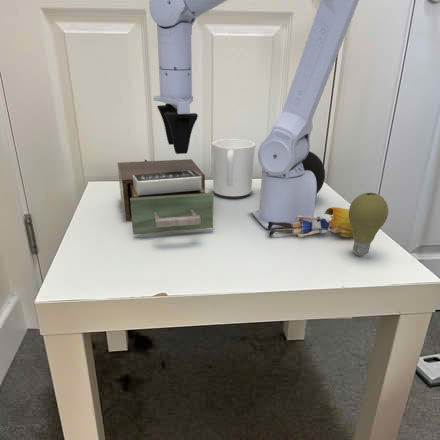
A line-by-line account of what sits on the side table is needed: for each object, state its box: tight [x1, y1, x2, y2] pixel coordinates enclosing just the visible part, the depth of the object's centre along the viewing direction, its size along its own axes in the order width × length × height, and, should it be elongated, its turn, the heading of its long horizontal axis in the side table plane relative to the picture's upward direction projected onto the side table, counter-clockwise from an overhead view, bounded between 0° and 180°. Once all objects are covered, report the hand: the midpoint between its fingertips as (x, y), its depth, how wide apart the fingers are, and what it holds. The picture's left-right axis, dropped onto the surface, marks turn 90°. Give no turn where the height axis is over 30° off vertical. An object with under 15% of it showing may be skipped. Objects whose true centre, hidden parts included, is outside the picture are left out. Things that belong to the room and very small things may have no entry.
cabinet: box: [117, 158, 206, 222], centre depth 86 cm, size 12×15×8 cm
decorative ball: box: [302, 150, 326, 195], centre depth 91 cm, size 10×10×10 cm
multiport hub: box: [133, 170, 202, 195], centre depth 77 cm, size 4×11×2 cm, turn 110°
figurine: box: [267, 206, 353, 238], centre depth 76 cm, size 5×5×15 cm
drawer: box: [129, 183, 214, 235], centre depth 77 cm, size 15×13×6 cm
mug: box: [211, 138, 257, 200], centre depth 93 cm, size 11×9×10 cm
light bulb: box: [348, 192, 389, 258], centre depth 68 cm, size 6×6×10 cm
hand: (177, 148), depth 86 cm, fingers open, 7 cm apart
